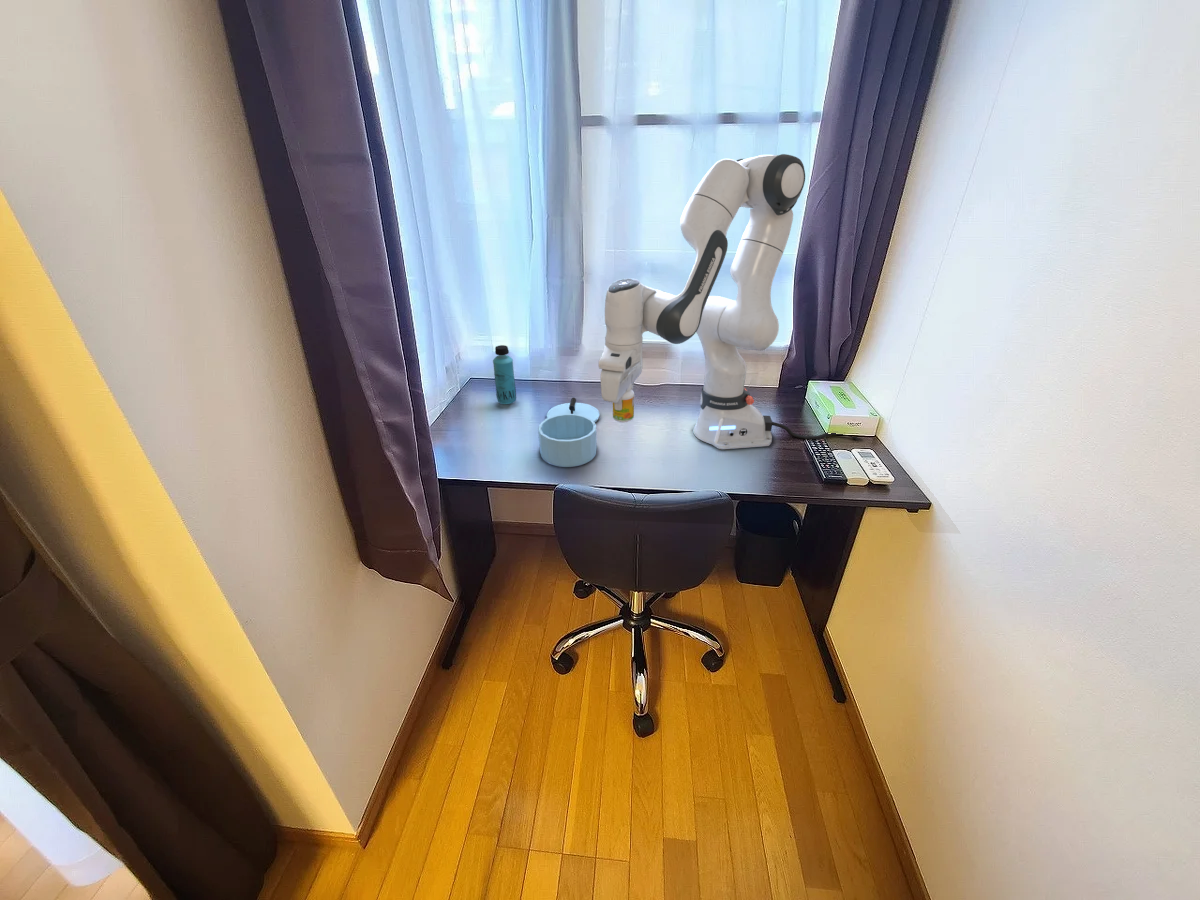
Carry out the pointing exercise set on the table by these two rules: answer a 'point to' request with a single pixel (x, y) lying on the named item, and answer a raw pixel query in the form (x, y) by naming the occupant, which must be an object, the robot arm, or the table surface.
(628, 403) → the supplement bottle
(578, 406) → the lid
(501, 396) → the beverage bottle
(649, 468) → the table surface
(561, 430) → the pot
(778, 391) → the table surface
